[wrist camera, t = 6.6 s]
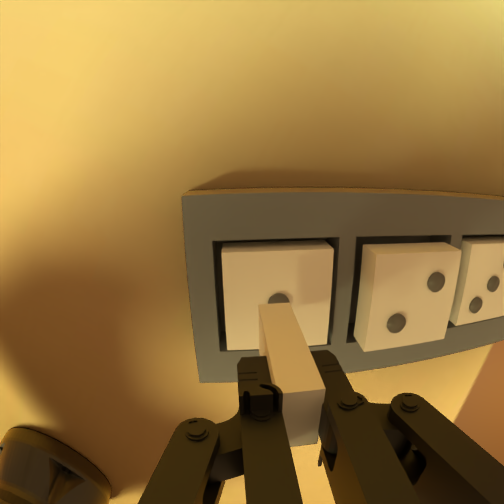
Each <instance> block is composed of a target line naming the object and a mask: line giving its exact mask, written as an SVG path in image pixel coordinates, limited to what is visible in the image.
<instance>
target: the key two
mask: <svg viewBox="0 0 504 504" xmlns="http://www.w3.org/2000/svg"><path fill="white" fill-rule="evenodd" d="M461 254H462V251H461V250H459V249H457V248H455V247H453V246H451V245H449V244H447V243H445V242H433V243H398V244H365V245H363V250H362V263H361V275H360V285H359V295H358V304H357V312H356V320H355V328H354V337H355V339H356V340H357V342H358V343H359V345H360V347H361V348H362V350H363V351H364V352H368V351H375V350H382V349H389V348H395V347H401V346H407V345H413V344H419V343H424V342H430V341H435V340H440V339H444V337H445V333H446V329H447V325H448V321H449V317H450V312H451V308H452V303H453V299H454V294H455V289H456V284H457V278H458V273H459V267H460V260H461Z"/></svg>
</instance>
